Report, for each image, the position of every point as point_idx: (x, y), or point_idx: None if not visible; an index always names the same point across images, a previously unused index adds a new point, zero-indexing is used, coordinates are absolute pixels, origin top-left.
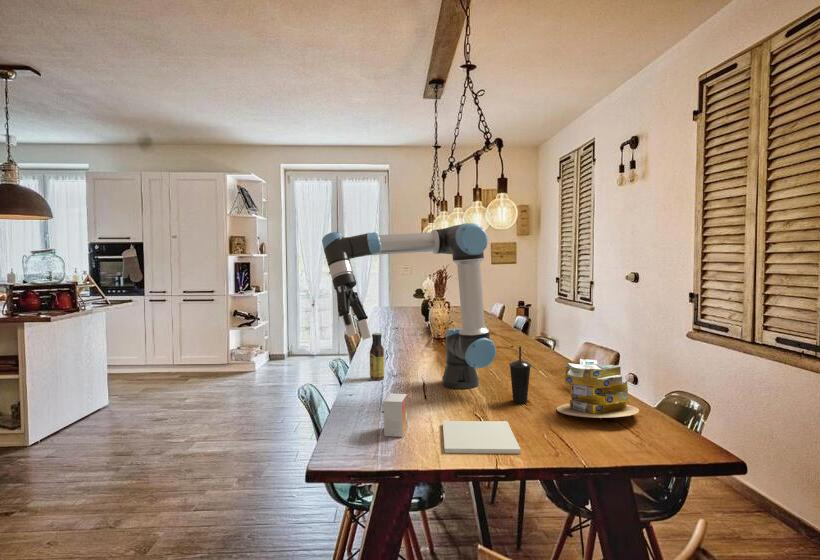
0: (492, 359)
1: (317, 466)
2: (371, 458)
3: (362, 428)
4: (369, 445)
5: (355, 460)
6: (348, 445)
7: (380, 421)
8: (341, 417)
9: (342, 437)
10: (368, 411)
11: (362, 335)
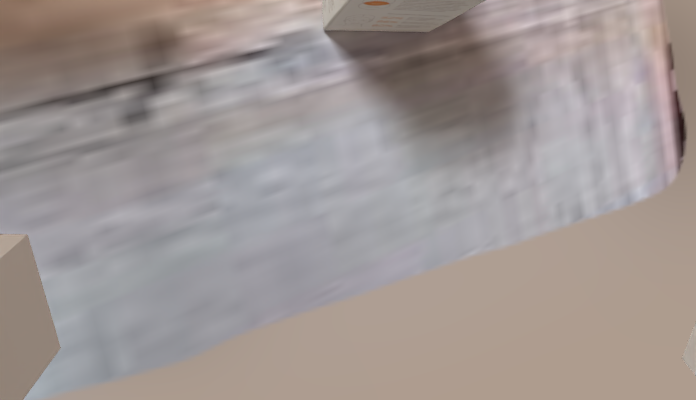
0: None
1: (662, 182)
2: (597, 33)
3: (367, 148)
4: (511, 68)
5: (616, 81)
6: (522, 144)
7: (273, 93)
8: (263, 289)
9: (464, 193)
10: (151, 193)
11: (19, 387)
